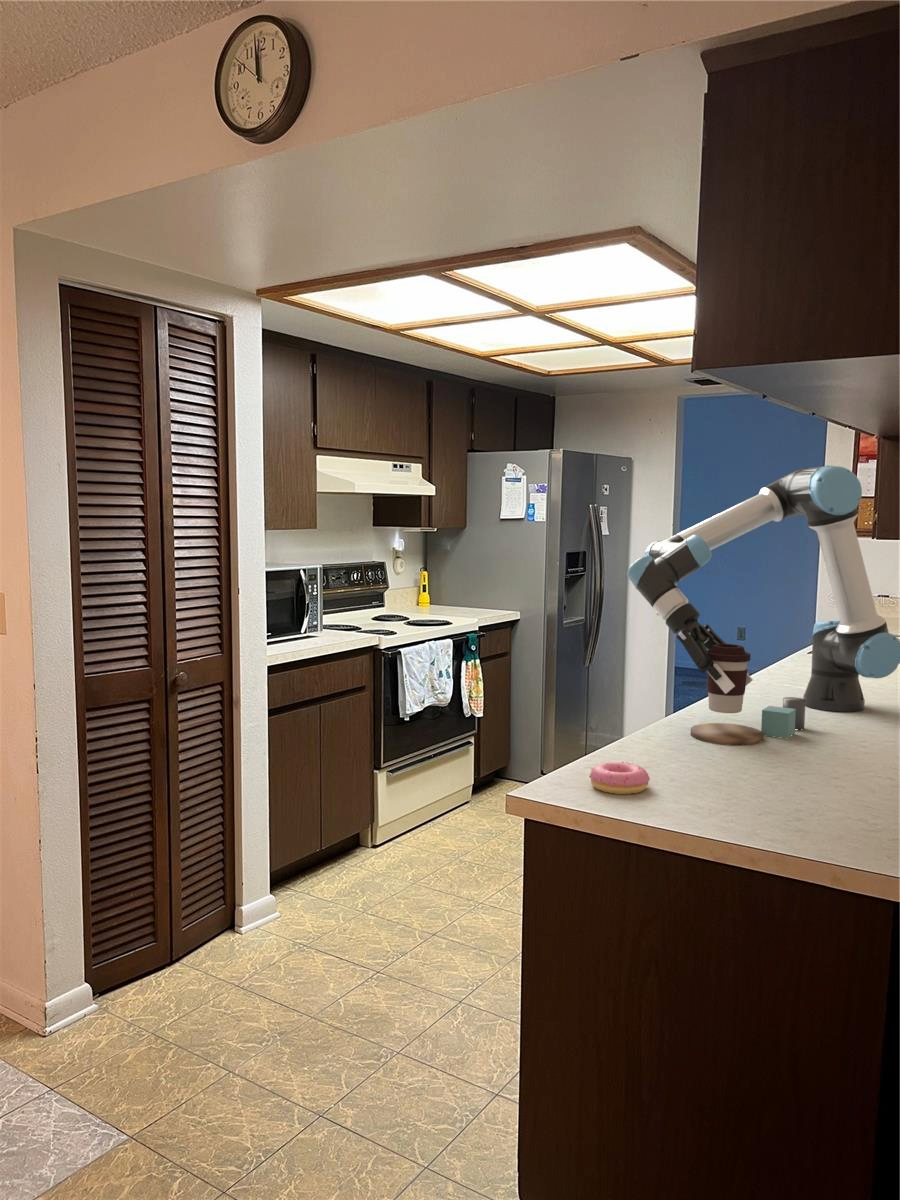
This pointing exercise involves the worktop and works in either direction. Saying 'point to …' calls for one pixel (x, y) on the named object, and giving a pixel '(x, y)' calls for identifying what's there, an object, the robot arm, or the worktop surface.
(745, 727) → the walnut board
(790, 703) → the gray cylinder
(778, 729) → the teal block
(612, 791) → the doughnut
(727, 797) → the worktop surface
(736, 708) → the coffee cup
